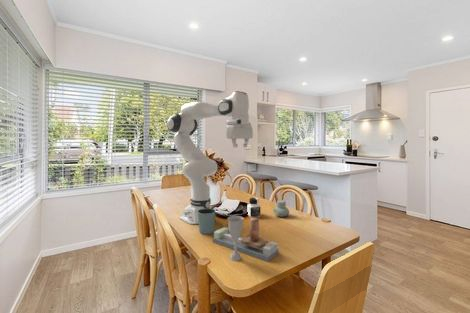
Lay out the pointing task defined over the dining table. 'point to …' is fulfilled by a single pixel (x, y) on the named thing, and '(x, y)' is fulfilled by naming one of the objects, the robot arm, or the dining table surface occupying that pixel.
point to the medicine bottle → (253, 208)
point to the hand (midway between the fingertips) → (240, 147)
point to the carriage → (254, 235)
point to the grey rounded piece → (281, 209)
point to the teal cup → (206, 220)
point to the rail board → (226, 240)
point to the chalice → (235, 233)
